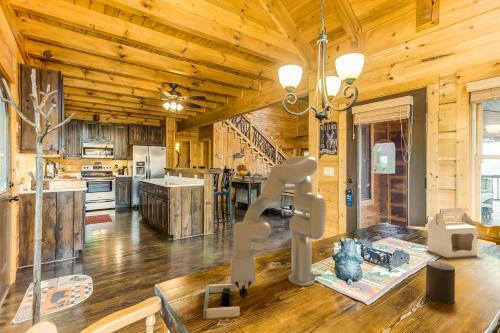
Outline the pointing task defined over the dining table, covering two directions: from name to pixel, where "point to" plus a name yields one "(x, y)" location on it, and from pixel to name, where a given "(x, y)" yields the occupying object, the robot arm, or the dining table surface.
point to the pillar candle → (440, 281)
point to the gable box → (461, 233)
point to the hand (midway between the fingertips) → (243, 297)
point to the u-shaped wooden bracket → (219, 311)
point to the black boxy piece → (226, 298)
